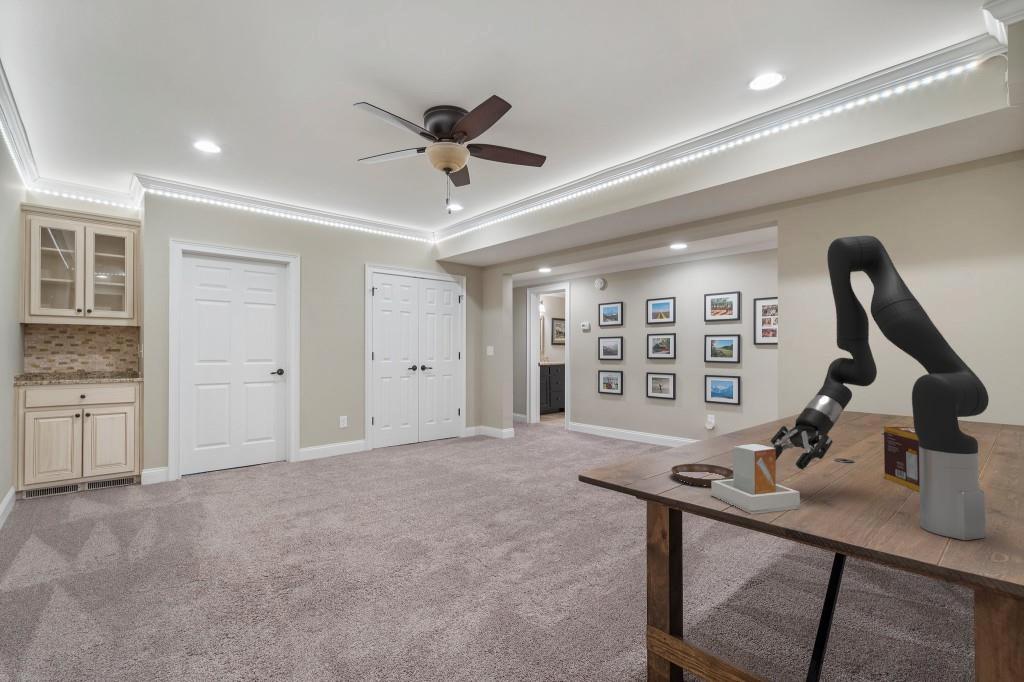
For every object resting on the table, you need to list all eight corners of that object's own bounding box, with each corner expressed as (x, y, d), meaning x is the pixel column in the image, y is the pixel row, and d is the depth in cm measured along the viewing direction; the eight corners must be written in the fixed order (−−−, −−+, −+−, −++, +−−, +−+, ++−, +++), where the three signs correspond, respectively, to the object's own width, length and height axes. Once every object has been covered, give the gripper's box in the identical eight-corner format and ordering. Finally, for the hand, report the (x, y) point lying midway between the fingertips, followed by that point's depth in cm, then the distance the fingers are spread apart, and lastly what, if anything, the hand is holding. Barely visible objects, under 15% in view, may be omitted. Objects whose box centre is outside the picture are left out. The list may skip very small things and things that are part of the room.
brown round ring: (671, 486, 134) (671, 475, 134) (670, 471, 151) (670, 461, 151) (740, 492, 129) (740, 480, 129) (731, 475, 146) (731, 465, 146)
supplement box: (920, 478, 141) (920, 425, 141) (965, 494, 125) (964, 435, 126) (883, 477, 142) (882, 425, 142) (922, 493, 126) (921, 434, 127)
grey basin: (799, 508, 115) (799, 491, 115) (751, 514, 111) (751, 496, 111) (755, 491, 128) (755, 476, 128) (711, 496, 124) (711, 480, 125)
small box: (755, 504, 115) (754, 450, 115) (732, 497, 121) (732, 446, 121) (777, 500, 119) (776, 447, 119) (754, 493, 124) (753, 443, 125)
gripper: (788, 403, 132) (754, 447, 128) (836, 410, 118) (800, 459, 115) (803, 422, 133) (770, 466, 130) (852, 430, 119) (817, 480, 116)
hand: (784, 463), depth 122 cm, fingers open, 8 cm apart
